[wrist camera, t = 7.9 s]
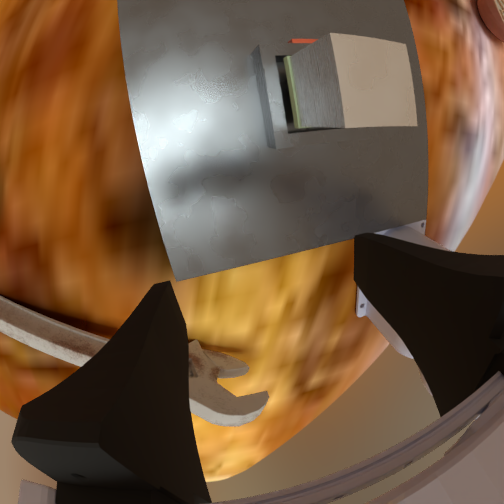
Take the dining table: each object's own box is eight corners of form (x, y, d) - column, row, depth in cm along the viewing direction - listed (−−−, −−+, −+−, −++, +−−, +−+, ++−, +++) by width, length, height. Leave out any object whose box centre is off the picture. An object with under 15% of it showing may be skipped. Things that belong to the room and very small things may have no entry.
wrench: (-11, 270, 19) (261, 349, 25) (-8, 284, 20) (255, 362, 26) (-54, 308, 12) (274, 418, 18) (-49, 324, 13) (265, 430, 19)
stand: (416, 214, 23) (440, 227, 20) (177, 271, 21) (175, 297, 18) (389, -9, 14) (413, -19, 11) (120, -6, 11) (110, -27, 8)
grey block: (358, 123, 15) (419, 128, 10) (294, 128, 14) (343, 131, 10) (348, 59, 13) (406, 42, 8) (283, 58, 13) (326, 30, 8)
